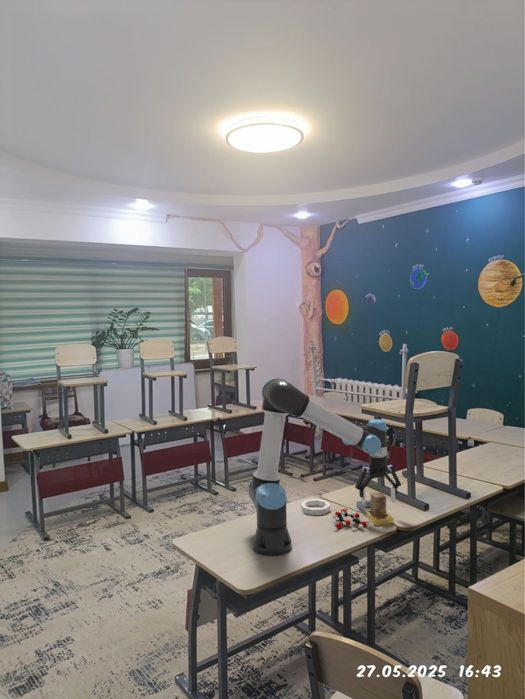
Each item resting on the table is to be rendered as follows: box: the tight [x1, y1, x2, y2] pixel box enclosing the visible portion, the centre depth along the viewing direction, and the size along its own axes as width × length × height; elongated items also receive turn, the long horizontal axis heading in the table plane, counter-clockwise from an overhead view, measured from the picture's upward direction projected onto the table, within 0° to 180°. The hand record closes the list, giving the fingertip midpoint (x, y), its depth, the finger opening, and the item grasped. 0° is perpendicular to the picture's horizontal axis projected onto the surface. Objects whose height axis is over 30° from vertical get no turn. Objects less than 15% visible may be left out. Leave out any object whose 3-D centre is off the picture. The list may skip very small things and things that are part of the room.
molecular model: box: [332, 506, 371, 530], centre depth 210 cm, size 10×12×15 cm
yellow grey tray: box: [356, 499, 395, 526], centre depth 219 cm, size 9×21×3 cm, turn 9°
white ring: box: [300, 498, 331, 516], centre depth 227 cm, size 12×12×2 cm
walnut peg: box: [370, 492, 387, 517], centre depth 214 cm, size 5×5×11 cm
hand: (378, 503), depth 214 cm, fingers open, 13 cm apart
